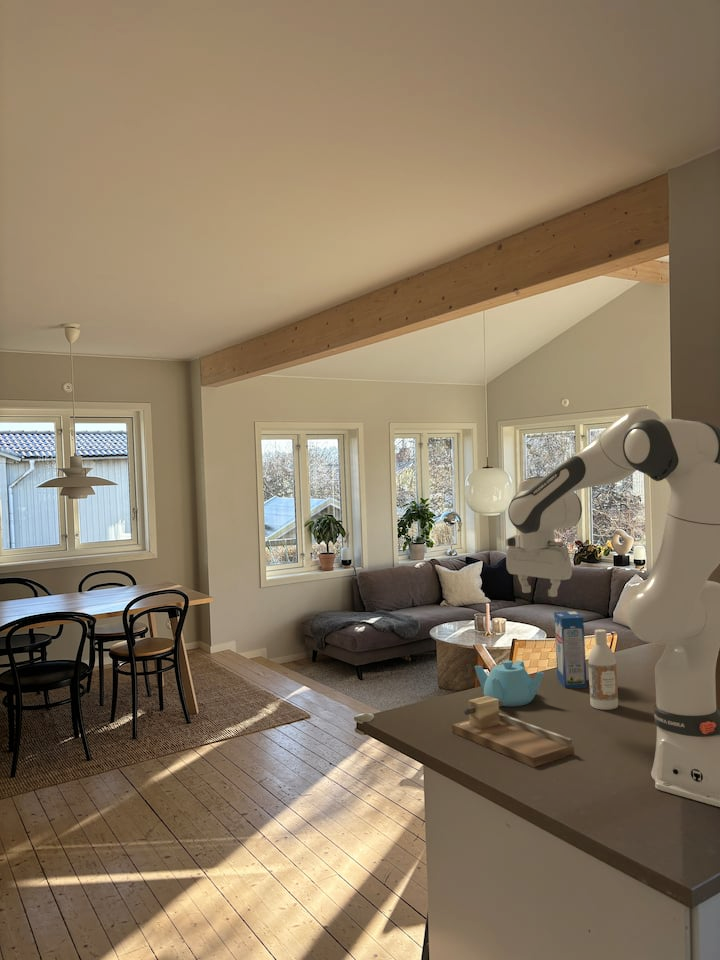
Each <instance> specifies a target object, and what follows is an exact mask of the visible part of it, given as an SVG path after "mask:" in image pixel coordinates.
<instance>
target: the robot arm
mask: <svg viewBox="0 0 720 960" xmlns="http://www.w3.org/2000/svg"><path fill="white" fill-rule="evenodd" d="M636 471H638V472H640V473H643V474H645V475H646V476H648V477H649V478H651V480H653V481H655V482H661V481H663V480H666V482H667V483H668V484H669V487H670V496H669V497H670V498H669V503H668V506H667V512H666V518H665V519H666V520H665V523H664V524H665V525H664V529H663V534H662V535H663V536H662V539H661V546H660V549H659V551H658V554H657V558H656V560H655V562H654V565H653V567H652V569H651V571H650V572H649V575H648V576H647V579H646V580H645V582H644V583H643V585H642V587H641V588H640V590H639V591H638V592H637V593H636V594H635V595H634V596H633V597H632V598H631V599H630V601H629V603H628V604H627V608H626V621H627V625H628V626H629V627H628V628H630V630H631V632H632V633H633V634H634V635H635V636H636V637H637V638H638V639H640V640H641V641H643V642H645V643H650V644H665V647H664V651H663V652H662V655H661V656H660V658H659V659H658V660H657V662H656V664H655V667H654V680H655V681H654V684H655V685H654V686H655V700H656V701H655V704H654V706H653V709H654V711H653V712H654V714H653V717H654V724H655V726H656V740H655V741H656V743H655V753H654V760H653V765H652V769H651V772H650V775H651V778H652V779H653V780H654V782H655V783H654V787H655V789H657V790H659V791H662V792H666V793H669V794H673V795H675V796H679V797H683V798H687V799H691V800H693V801H697V802H701V803H705V804H707V805H710V806H711V805H712V806H715V807H719V808H720V711H719V709H718V708H717V694H716V690H717V689H716V671H717V670H716V669H717V661H718V656H719V651H720V583H719V582H716V581H712V580H708V579H709V578H710V576H711V575H712V573H713V572H714V571H715V569H717V568H718V567H719V565H720V427H719V426H717V425H716V424H713V423H710V422H706V421H700V420H699V421H692V420H686V419H685V420H684V419H679V418H664V419H663V418H662V417H661V416H660V414H658V413H657V412H656V411H654V410H652V409H649V408H647V407H635V408H633V409H630V410H629V411H627V412H626V413H624V414H622V415H621V416H619V417H618V418H617V419H615V420H614V421H612V422H611V423H610V424H609V425H608V426H607V427H606V428H605V429H604V430H603V431H602V432H601V433H600V434H598V436H596V437H595V438H594V439H593V440H592V441H591V442H590V443H588V444H587V445H586V446H585V447H583V448H582V449H581V450H579V451H578V452H576V453H575V454H573V455H572V456H570V457H569V458H567V459H566V460H565V461H563V462H561V463H560V464H559V465H557V466H555V468H553V469H552V470H551V471H549V473H547V474H546V475H545V476H544V475H543V476H533V477H527V478H524V479H523V480H521V481H520V482H519V485H518V488H517V493H516V494H515V495H514V496H513V497H512V499H511V501H510V503H509V506H508V511H507V512H508V518H509V521H510V522H511V524H512V525H513V526H514V527H515V529H517V531H518V533H516V534H514V535H512V536H509V537H508V538H506V539H505V546H506V547H507V549H506V552H505V560H506V561H505V562H506V563H505V564H506V571H507V572H508V573H509V574H510V575H517V579H518V581H519V583H520V586H521V592H522V593H524V594H525V593H526V594H529V593H531V592H532V586H531V585H530V584H529V582H528V580H527V579H528V578H529V577H533V578H542V579H549V580H550V581H549V582H550V584H551V587H550V589H547V593H548V594H547V595H548V597H551V598H555V597H557V596H558V589H559V588H560V585H561V581H567V580H570V579H571V577H572V576H573V569H572V563H571V557H570V553H569V548H568V546H567V545H566V544H565V543H564V542H562V541H555V539H556V538H555V530H562V529H563V530H564V529H569V528H572V527H575V526H576V525H577V524H578V523H579V521H580V519H581V518H582V513H583V506H582V502H581V499H580V497H579V496H578V494H576V493H575V491H580V490H583V489H587V488H591V487H593V488H594V487H599V486H607V485H613V484H616V483H619V482H621V481H623V480H625V479H626V478H628V477H630V476H631V475H633V474H634V473H635V472H636Z"/></svg>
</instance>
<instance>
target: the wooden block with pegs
mask: <svg viewBox="0 0 720 960" xmlns="http://www.w3.org/2000/svg"><path fill="white" fill-rule="evenodd" d="M467 703H468V708H464V709H463V712H464V714H465V716H468V715H469V717H468V720H469V722H470V725H471V726H473V727H476V728H478V729H483V728H487V727H491V726H494V725H498V724H500V722H499V713H500V707H503V706H502V705H503V702H502V700H498V699H496V698H493V697H490V696H484V695H483V696H481V697H476V698H472V699H469V700H468V702H467Z"/></svg>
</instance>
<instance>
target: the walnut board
mask: <svg viewBox="0 0 720 960" xmlns="http://www.w3.org/2000/svg"><path fill="white" fill-rule="evenodd" d="M499 722H500V724H498V725H494V726H491V727H487V728H483V729H478V728H476V727H473V726H471V725H470V722H469V719H468V720H464V721H461V722H457V723H453V724H451V725H452V733H453V734H455V735H457V736H460V737H462V738H464V739H467V740H469V741H472V742H473V741H474V743H476V744H478V745H480V744H481V745H480V746H483V747H485V748H487V747H488V749H490V750H493V751H494V750H495V751H494V752H497V753H500V754H501V753H502V755H503V756H507V757H508V756H509V758H510V759H513V758H514V759H513V760H515V759H516V760H515V761H518V762H520V763H522V762H523V763H522V764H525V765H527V766H529V765H530V767H532V768H537V767H539V765H540V766H542V764H543V765H545V763H546V764H549V763H552V762H555V761H558V760H561V759H564V758H563V757H565V758H567V757H566V756H568V757H570V756H569V755H571V756H574V755H575V745H574V744H573V739H572V738H570V737H567V736H565V735H562V734H559V733H557V732H553V731H550V730H548V729H545V728H542V727H539V726H538V725H537V726H536V725H534V724H531V723H528V722H526V721H524V720H520V719H518V718H514V717H513V716H509V715H507V714H503V713H500V712H499ZM573 754H574V755H573ZM557 759H558V760H557ZM554 760H555V761H554ZM551 761H552V762H551ZM548 762H549V763H548ZM536 766H537V767H536Z"/></svg>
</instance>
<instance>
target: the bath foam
mask: <svg viewBox="0 0 720 960" xmlns="http://www.w3.org/2000/svg"><path fill="white" fill-rule="evenodd" d="M607 635H608V634H607V630H606V629H602V628H601V629H599V628H598V629H595V630H594V641H595V642H594V643H595V644H594V645H593V647H592V649H591V651H590V653H589V655H588V659H587V660H588V661H587V662H588V665H587V666H588V681H589V682H588V683H589V697H590V698H589V699H590V700H589V701H590V706H591V707H592V708H593V709H596V710H604V711H609V710H614V709H617V708H618V706H619V696H618V695H619V694H618V693H619V692H618V690H619V689H618V674H617V661H616V656H615V654H614V652H613V650H612V649H611V647H610V646H609V645H608V636H607Z"/></svg>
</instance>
